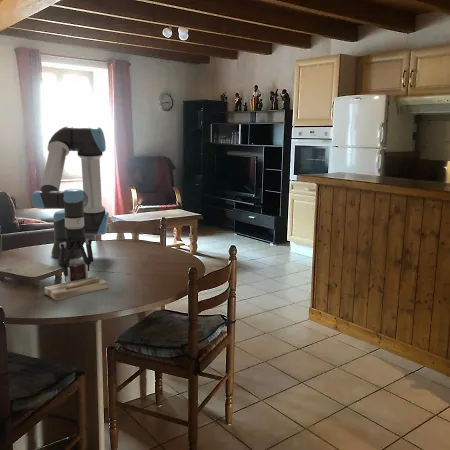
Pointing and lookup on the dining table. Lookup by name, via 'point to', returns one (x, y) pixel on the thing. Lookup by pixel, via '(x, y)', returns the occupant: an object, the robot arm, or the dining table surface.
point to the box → (76, 271)
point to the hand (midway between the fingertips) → (77, 280)
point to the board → (75, 288)
